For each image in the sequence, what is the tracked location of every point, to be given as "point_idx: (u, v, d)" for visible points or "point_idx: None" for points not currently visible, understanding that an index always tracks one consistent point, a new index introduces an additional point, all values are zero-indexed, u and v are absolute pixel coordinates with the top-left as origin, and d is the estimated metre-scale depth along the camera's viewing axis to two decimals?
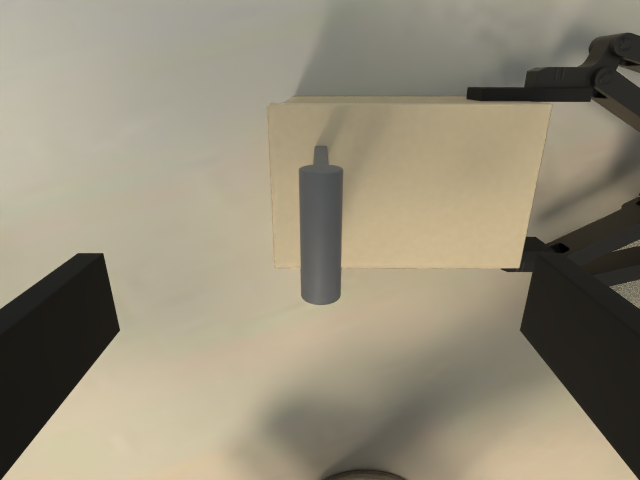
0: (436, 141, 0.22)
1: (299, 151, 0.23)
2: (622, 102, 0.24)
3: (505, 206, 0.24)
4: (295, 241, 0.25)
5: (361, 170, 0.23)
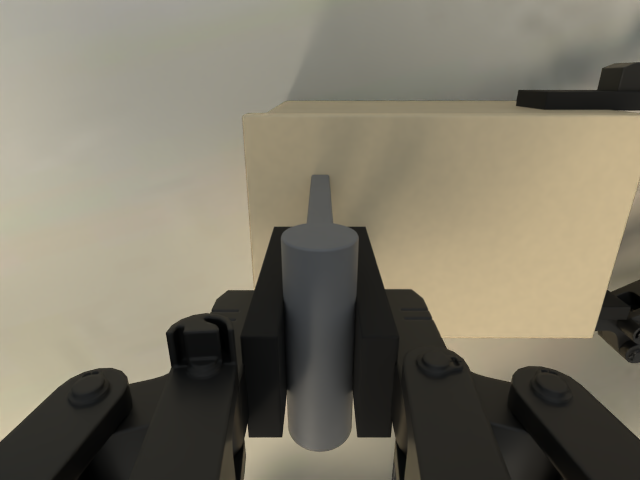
0: (486, 168, 0.15)
1: (289, 182, 0.16)
2: None
3: (579, 257, 0.17)
4: None
5: (378, 208, 0.16)
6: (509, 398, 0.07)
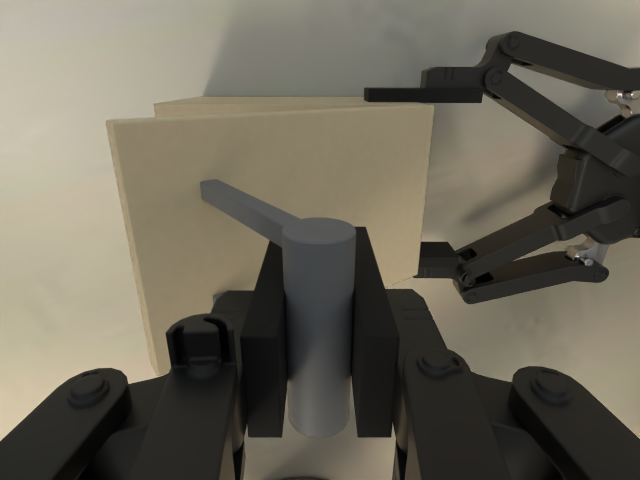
0: (343, 155, 0.18)
1: (176, 193, 0.14)
2: (515, 103, 0.23)
3: (405, 215, 0.22)
4: None
5: None
6: (510, 398, 0.07)
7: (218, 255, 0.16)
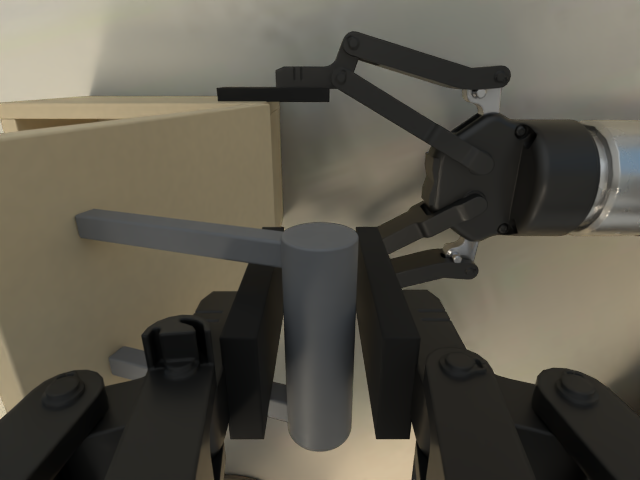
0: (210, 161, 0.17)
1: (47, 237, 0.10)
2: (363, 102, 0.24)
3: (262, 214, 0.22)
4: None
5: None
6: (534, 400, 0.07)
7: (107, 305, 0.12)
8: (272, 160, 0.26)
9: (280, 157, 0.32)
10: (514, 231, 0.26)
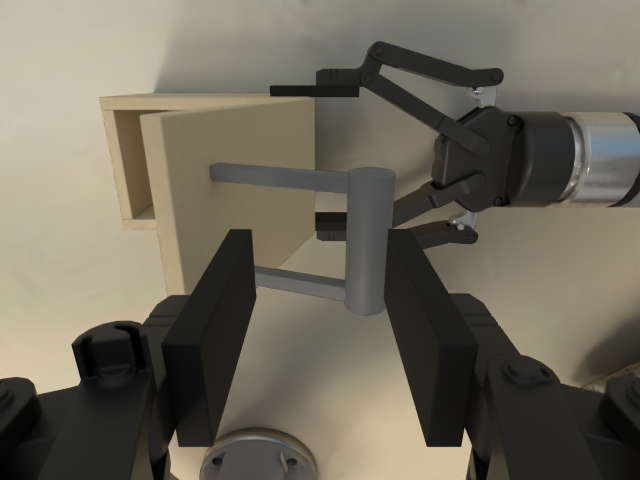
0: (277, 139, 0.23)
1: (197, 177, 0.16)
2: (386, 97, 0.30)
3: None
4: None
5: None
6: (603, 409, 0.07)
7: (221, 229, 0.19)
8: None
9: None
10: (507, 203, 0.32)
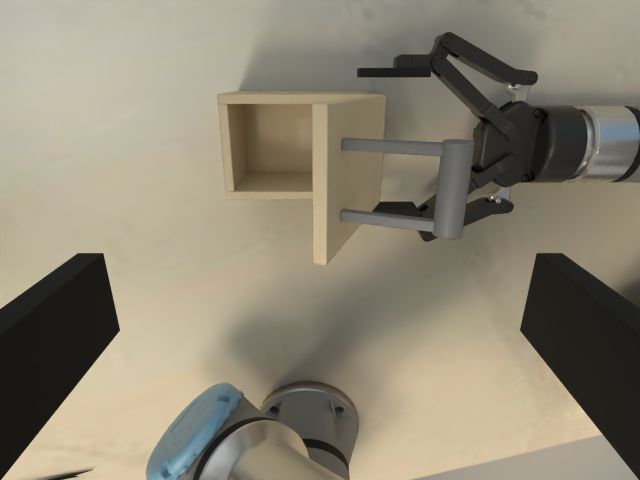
0: (368, 124, 0.31)
1: (336, 146, 0.24)
2: (449, 79, 0.37)
3: (378, 162, 0.36)
4: (333, 231, 0.26)
5: (352, 154, 0.28)
6: None
7: (342, 185, 0.27)
8: None
9: None
10: (532, 179, 0.40)
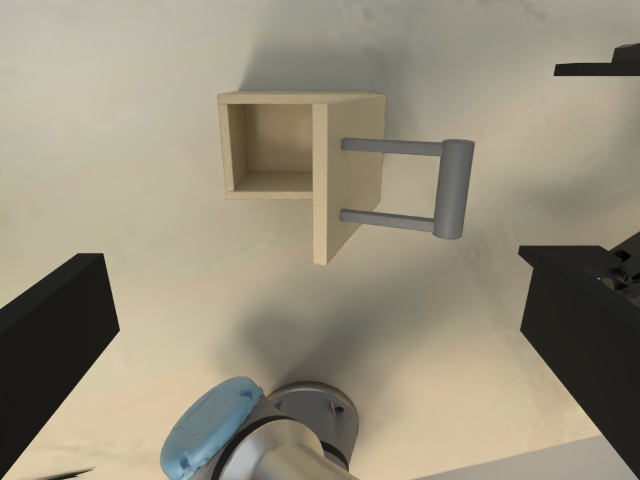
0: (368, 124, 0.31)
1: (336, 146, 0.24)
2: None
3: (378, 162, 0.36)
4: (333, 231, 0.26)
5: (352, 154, 0.28)
6: None
7: (342, 185, 0.27)
8: None
9: None
10: None
